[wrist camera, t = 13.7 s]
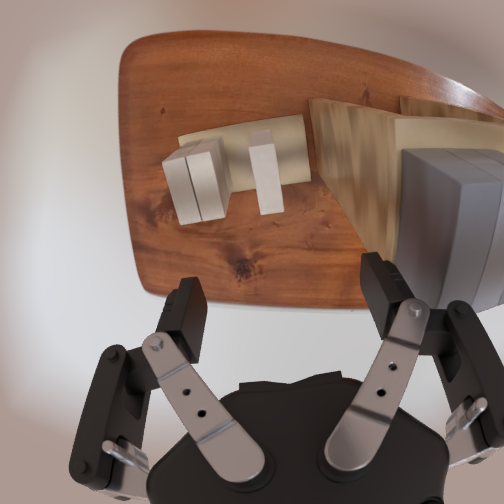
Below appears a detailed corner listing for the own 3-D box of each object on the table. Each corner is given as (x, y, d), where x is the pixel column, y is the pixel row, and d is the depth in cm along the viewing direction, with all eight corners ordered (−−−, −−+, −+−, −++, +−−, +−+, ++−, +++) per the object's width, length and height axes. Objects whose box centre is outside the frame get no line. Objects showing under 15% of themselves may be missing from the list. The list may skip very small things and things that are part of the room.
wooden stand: (308, 98, 31) (458, 140, 7) (406, 96, 30) (595, 159, 5) (317, 172, 36) (416, 349, 12) (409, 164, 35) (558, 292, 10)
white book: (250, 132, 33) (248, 147, 25) (269, 129, 33) (274, 143, 25) (259, 183, 37) (260, 215, 29) (277, 180, 37) (284, 211, 28)
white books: (178, 136, 34) (151, 154, 25) (302, 114, 32) (319, 123, 23) (194, 198, 39) (175, 235, 30) (310, 179, 37) (327, 212, 28)
